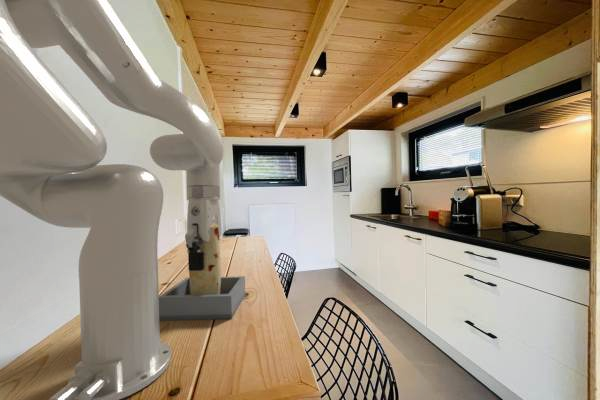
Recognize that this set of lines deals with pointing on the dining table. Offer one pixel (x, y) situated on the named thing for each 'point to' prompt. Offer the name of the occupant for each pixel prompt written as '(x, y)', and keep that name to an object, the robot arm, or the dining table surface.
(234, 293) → the bin
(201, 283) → the food model
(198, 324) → the dining table surface
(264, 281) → the dining table surface
